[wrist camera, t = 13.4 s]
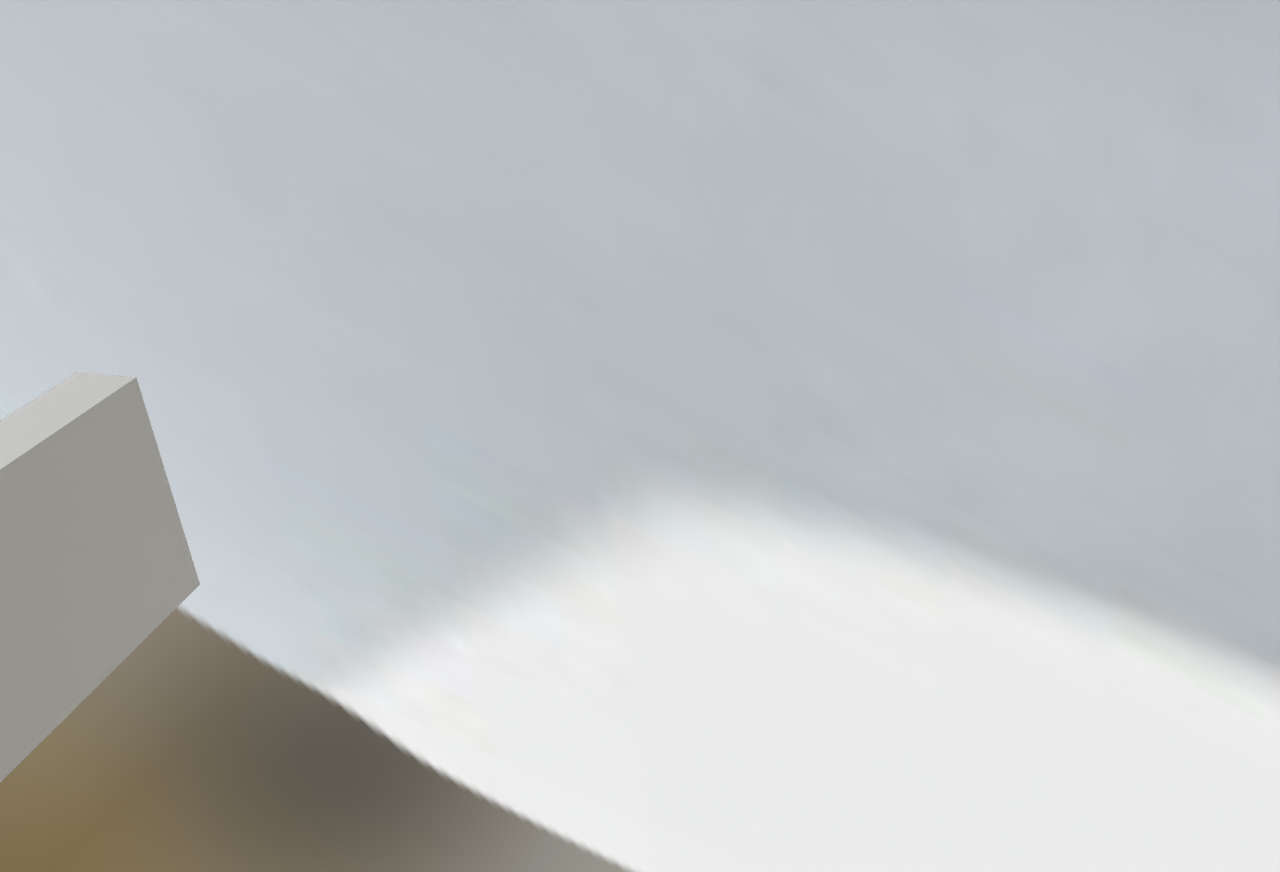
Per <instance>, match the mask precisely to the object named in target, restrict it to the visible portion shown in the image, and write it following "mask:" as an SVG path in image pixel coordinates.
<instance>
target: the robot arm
mask: <svg viewBox="0 0 1280 872" xmlns="http://www.w3.org/2000/svg"><path fill="white" fill-rule="evenodd" d="M199 585H200V583H199V580H198V577H197V573H196V570H195V567H194V564H193V560H192V557H191V554H190V551H189V547H188V544H187V541H186V538H185V534H184V531H183V528H182V525H181V521H180V518H179V515H178V512H177V508H176V505H175V502H174V499H173V495H172V492H171V489H170V486H169V482H168V479H167V476H166V473H165V469H164V466H163V463H162V460H161V456H160V453H159V450H158V447H157V443H156V440H155V437H154V434H153V430H152V427H151V424H150V421H149V417H148V414H147V411H146V408H145V404H144V401H143V398H142V395H141V391H140V388H139V385H138V382H137V378H136V377H127V376H114V375H102V374H89V373H76V374H74V375H73V376H71V377H69V378H68V379H66V380H65V381H63V382H61V383H60V384H58V385H57V386H55V387H54V388H52V389H50V390H49V391H47V392H46V393H44V394H42V395H41V396H39V397H38V398H36V399H35V400H33V401H31V402H30V403H28V404H27V405H25V406H23V407H22V408H20V409H19V410H17V411H16V412H14V413H12V414H11V415H9V416H8V417H6V418H4V419H3V420H1V421H0V782H1V781H2V780H3V779H4V778H5V777H6V776H7V775H8V774H9V773H10V772H11V771H12V770H13V769H14V768H15V767H16V766H17V765H18V764H19V763H20V762H21V761H22V760H23V759H24V758H25V757H26V756H27V755H28V754H29V753H30V752H31V751H32V750H33V749H34V748H35V747H36V746H37V745H38V744H39V743H40V742H41V741H42V740H43V739H44V738H45V737H47V736H48V735H49V733H51V732H52V731H53V730H54V729H55V728H56V727H57V726H58V725H59V724H60V723H61V721H63V720H64V719H65V718H66V717H67V716H68V715H69V714H70V713H71V712H72V711H73V710H74V709H75V708H76V707H77V706H78V705H79V704H80V702H81V701H83V700H84V699H85V698H86V697H87V696H88V695H89V694H90V693H91V692H92V691H93V690H94V689H95V688H96V687H97V686H98V685H99V684H100V683H101V682H102V681H103V680H104V679H105V678H106V677H107V676H108V675H109V674H110V673H111V672H112V671H113V670H114V669H115V668H116V667H117V666H118V665H119V664H120V663H121V662H122V661H123V660H124V659H125V658H126V657H127V656H128V655H129V654H130V653H131V652H132V651H133V650H134V649H135V648H136V647H137V646H138V645H139V644H140V643H141V642H142V641H143V640H144V639H145V638H146V637H147V636H148V635H149V634H150V633H151V632H152V631H153V630H154V629H155V628H156V627H157V626H158V625H159V624H160V623H161V622H162V621H163V620H164V619H165V618H166V617H167V616H168V615H169V614H170V613H171V612H172V611H173V610H174V609H175V608H176V607H177V606H179V605H180V604H181V603H182V602H183V601H184V600H185V599H186V598H187V597H188V596H189V595H190V594H191V593H192V592H193V591H194V590H195V589H196V588H197V587H198V586H199Z"/></svg>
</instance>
